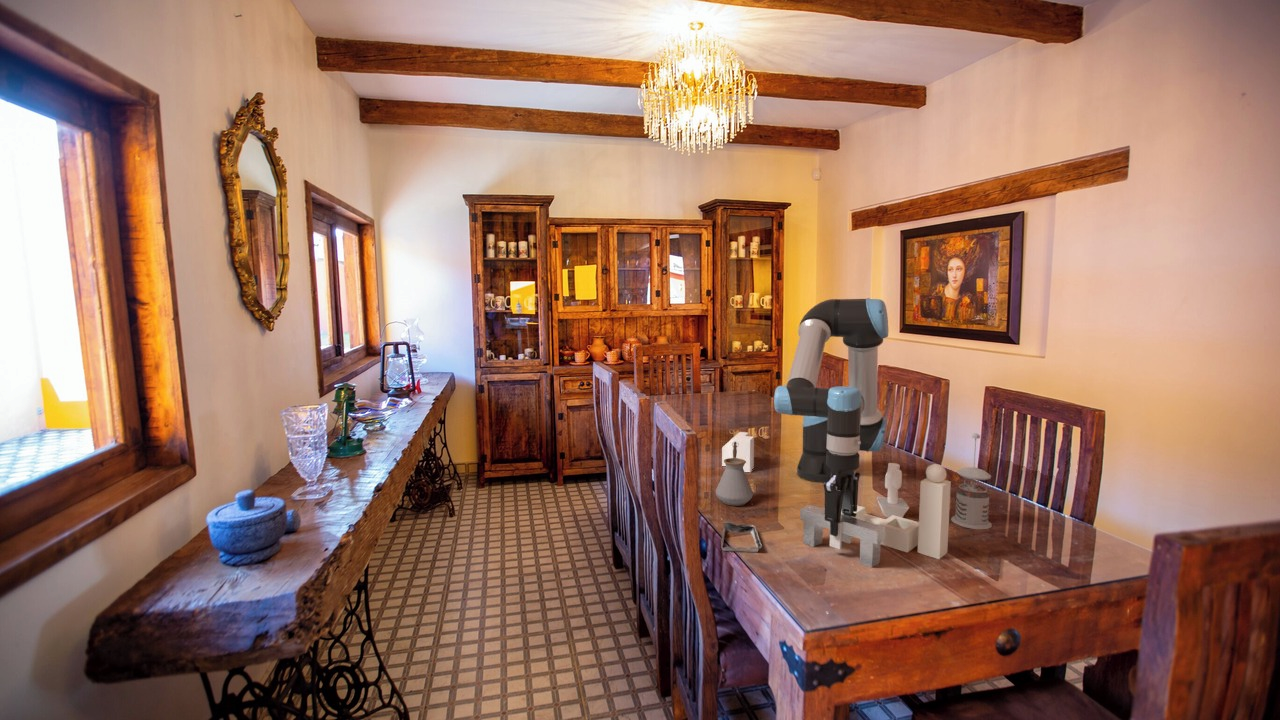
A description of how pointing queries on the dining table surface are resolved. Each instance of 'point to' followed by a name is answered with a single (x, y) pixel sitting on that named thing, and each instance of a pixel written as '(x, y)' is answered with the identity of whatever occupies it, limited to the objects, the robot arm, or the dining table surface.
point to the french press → (972, 499)
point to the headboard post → (920, 518)
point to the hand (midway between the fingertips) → (840, 544)
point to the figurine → (893, 493)
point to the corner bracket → (740, 450)
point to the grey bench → (844, 532)
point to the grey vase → (734, 482)
